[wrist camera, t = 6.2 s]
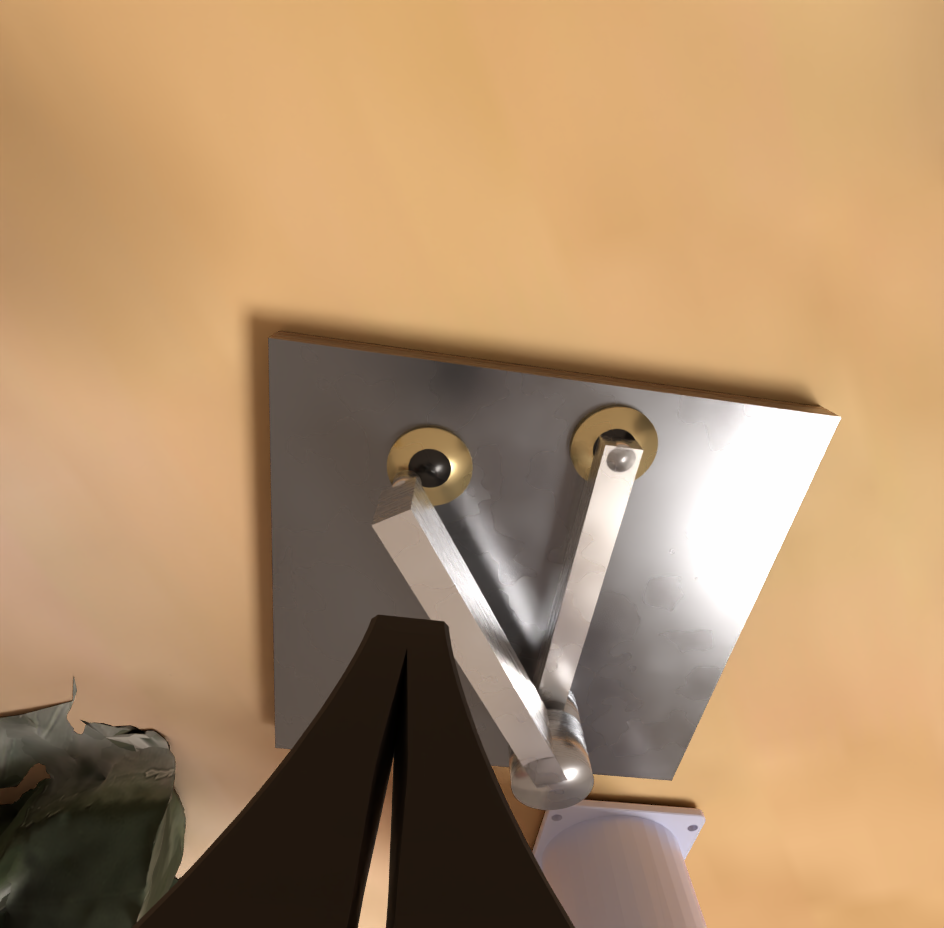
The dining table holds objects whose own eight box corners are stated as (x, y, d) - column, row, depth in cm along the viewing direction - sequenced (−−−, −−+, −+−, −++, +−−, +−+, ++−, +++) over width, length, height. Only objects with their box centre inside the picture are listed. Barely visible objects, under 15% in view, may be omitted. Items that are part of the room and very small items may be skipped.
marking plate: (664, 760, 26) (679, 802, 24) (282, 727, 24) (267, 769, 22) (821, 407, 18) (862, 428, 16) (279, 330, 17) (256, 345, 15)
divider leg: (588, 730, 22) (604, 796, 20) (522, 751, 23) (529, 818, 20) (443, 452, 17) (440, 495, 14) (359, 488, 17) (341, 535, 15)
